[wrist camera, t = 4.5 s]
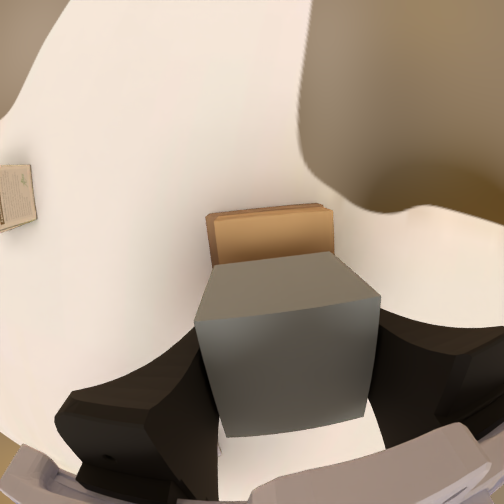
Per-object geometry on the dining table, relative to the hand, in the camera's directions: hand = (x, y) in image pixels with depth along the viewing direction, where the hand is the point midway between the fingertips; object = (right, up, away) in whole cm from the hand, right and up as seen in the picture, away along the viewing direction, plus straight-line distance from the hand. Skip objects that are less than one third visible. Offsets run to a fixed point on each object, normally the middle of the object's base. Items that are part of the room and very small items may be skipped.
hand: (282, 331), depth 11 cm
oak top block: (0, +3, +8) cm, 9 cm away
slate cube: (0, +1, +1) cm, 2 cm away
